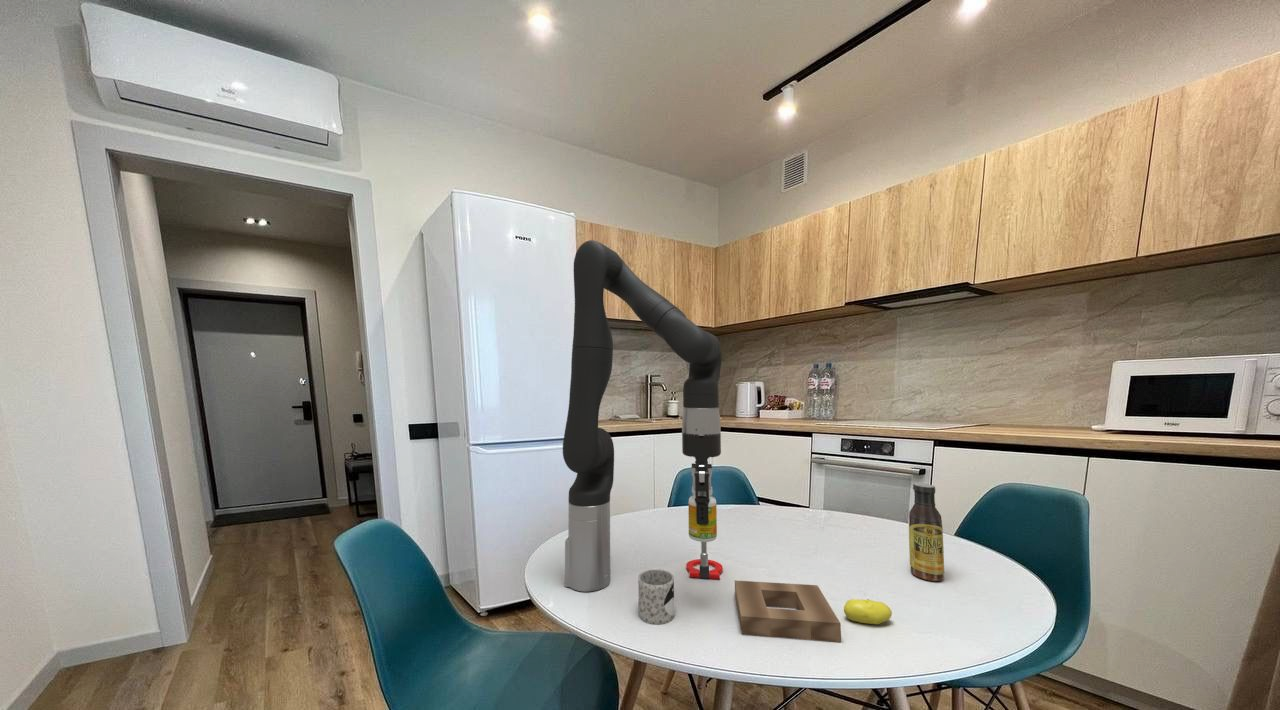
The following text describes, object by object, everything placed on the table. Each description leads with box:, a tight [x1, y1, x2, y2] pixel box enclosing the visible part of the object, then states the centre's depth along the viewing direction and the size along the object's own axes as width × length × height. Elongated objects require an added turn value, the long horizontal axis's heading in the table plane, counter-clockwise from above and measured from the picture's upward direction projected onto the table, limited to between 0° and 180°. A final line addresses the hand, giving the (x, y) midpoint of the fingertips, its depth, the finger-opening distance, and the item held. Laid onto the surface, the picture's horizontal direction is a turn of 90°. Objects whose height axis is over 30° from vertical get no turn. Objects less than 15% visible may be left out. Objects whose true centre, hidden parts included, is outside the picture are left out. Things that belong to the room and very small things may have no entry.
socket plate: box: [734, 580, 842, 643], centre depth 73 cm, size 16×13×3 cm
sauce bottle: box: [908, 482, 945, 582], centre depth 89 cm, size 6×6×20 cm
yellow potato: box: [843, 598, 893, 625], centre depth 71 cm, size 4×8×4 cm, turn 79°
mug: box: [638, 568, 675, 626], centre depth 76 cm, size 10×7×7 cm
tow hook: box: [685, 542, 724, 580], centre depth 93 cm, size 8×13×9 cm
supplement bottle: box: [687, 484, 718, 543], centre depth 77 cm, size 5×5×10 cm
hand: (702, 518), depth 77 cm, fingers closed on supplement bottle, 5 cm apart
